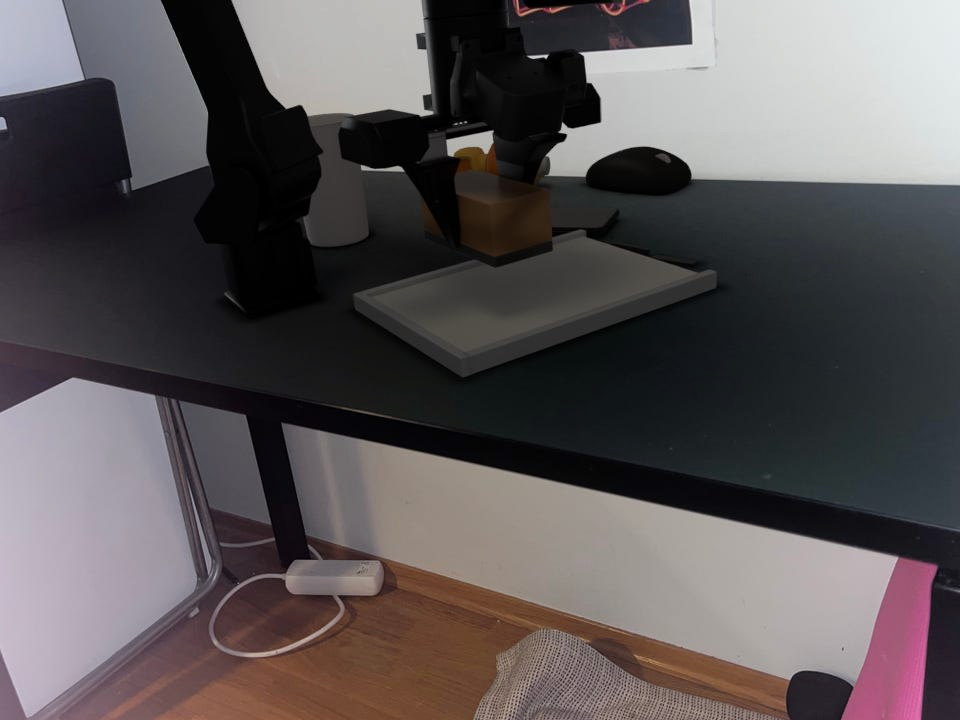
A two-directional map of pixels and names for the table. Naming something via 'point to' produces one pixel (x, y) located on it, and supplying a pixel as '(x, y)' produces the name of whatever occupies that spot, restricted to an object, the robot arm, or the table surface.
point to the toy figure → (490, 162)
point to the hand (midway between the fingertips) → (484, 238)
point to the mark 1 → (633, 248)
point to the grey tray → (525, 301)
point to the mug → (335, 190)
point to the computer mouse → (639, 171)
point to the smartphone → (582, 220)
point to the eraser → (497, 219)
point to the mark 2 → (676, 260)
